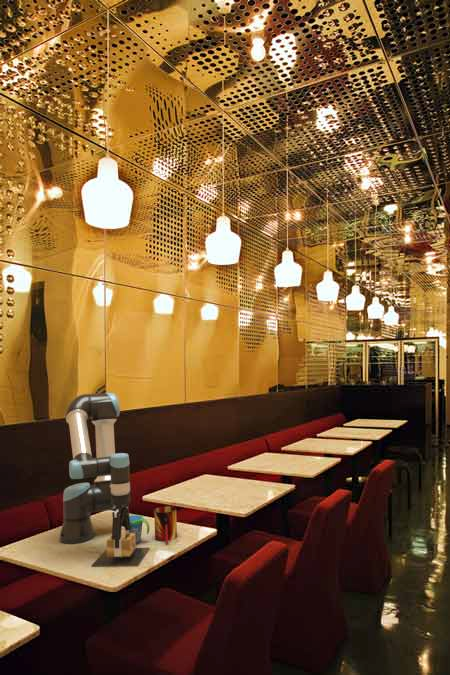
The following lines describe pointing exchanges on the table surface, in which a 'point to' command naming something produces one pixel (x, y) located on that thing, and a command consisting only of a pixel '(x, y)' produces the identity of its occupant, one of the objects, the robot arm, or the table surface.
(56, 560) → the table surface
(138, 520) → the snack cup
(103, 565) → the post stand
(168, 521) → the mug
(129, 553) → the square wooden frame
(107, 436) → the robot arm
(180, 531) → the table surface
